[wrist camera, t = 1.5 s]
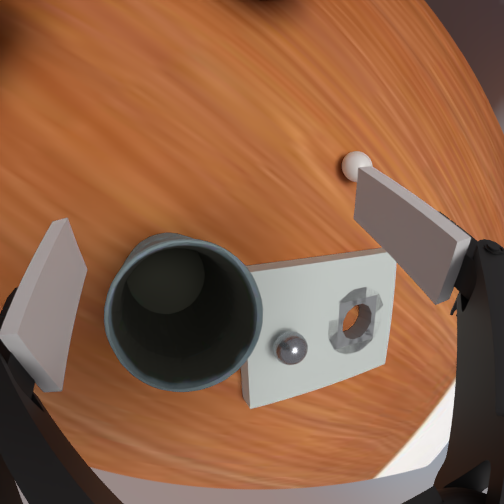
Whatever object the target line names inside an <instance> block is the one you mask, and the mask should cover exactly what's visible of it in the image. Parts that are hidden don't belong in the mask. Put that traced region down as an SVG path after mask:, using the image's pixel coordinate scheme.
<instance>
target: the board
mask: <svg viewBox="0 0 504 504" xmlns="http://www.w3.org/2000/svg"><path fill="white" fill-rule="evenodd" d="M246 267H247V268H248V270H249V271H250V272H251V274H252V275H253V278H254V280H255V282H256V284H257V286H258V289H259V292H260V295H261V299H262V305H263V323H262V329H261V333H260V336H259V339H258V342H257V344H256V346H255V348H254V350H253V352H252V354H251V355H250V356H249V358H248V359H247V361H246V362H245V363H244V364H243V365H242V366H241V378H242V393H243V398H244V400H245V401H246V403H247V405H248V406H249V408H250V409H252V408H256V407H260V406H263V405H267V404H271V403H274V402H278V401H281V400H285V399H288V398H291V397H294V396H298V395H301V394H304V393H307V392H310V391H313V390H316V389H319V388H322V387H325V386H328V385H331V384H334V383H337V382H339V381H342V380H345V379H347V378H350V377H353V376H355V375H358V374H361V373H363V372H366V371H368V370H371V369H373V368H376V367H378V366H380V365H383V364H385V360H386V353H387V347H388V340H389V333H390V325H391V317H392V308H393V299H394V288H395V276H396V261H395V260H394V259H393V258H392V257H391V256H390V255H389V254H388V253H387V252H386V251H385V250H384V249H383V248H377V249H369V250H362V251H355V252H348V253H340V254H333V255H326V256H318V257H311V258H303V259H296V260H288V261H280V262H273V263H265V264H257V265H249V266H246ZM355 305H359V316H358V318H357V320H356V322H355V324H354V325H353V326H352V327H351V328H350V329H349V330H346V331H342V328H343V320H344V318H345V316H346V314H347V312H348V311H349V310H350V309H352V308H353V307H354V306H355ZM288 331H294V332H297V333H299V334H301V335H302V336H303V337H304V338H305V339H306V341H307V344H308V352H307V355H306V357H305V358H304V359H303V360H302V361H301V362H300V363H298V364H295V365H285V364H283V363H281V362H279V361H278V360H277V358H276V357H275V355H274V352H273V345H274V342H275V340H276V339H277V337H278V336H279V335H281V334H282V333H284V332H288Z"/></svg>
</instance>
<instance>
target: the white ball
mask: <svg viewBox="0 0 504 504" xmlns="http://www.w3.org/2000/svg"><path fill="white" fill-rule="evenodd" d="M368 166H372V162H371V160H370V158H369V157H368V156H367V155H366V154H365V153H363V152H359V151H353V152H350V153H348V154H347V155H346V156H345V157H344V159H343V161H342V171H343V173H344V175H345V176H346V177H347V178H348V179H349V180H351V181H353V182H357V177H358V167H368Z"/></svg>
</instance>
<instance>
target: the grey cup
mask: <svg viewBox="0 0 504 504" xmlns="http://www.w3.org/2000/svg"><path fill="white" fill-rule="evenodd" d="M262 323H263V305H262V299H261V295H260V292H259V289H258V286H257V284H256V282H255V280H254V278H253V275H252V274H251V272H250V271H249V270H248V268H247V267H246V266H245V265H244V264H243V263H242V262H241V261H240V260H239V259H238V258H237V257H236V256H234V255H233V254H232V253H230V252H229V251H227V250H226V249H224V248H222V247H221V246H218V245H216V244H213V243H211V242H207V241H203V240H198V239H193V238H190V237H187V236H184V235H180V234H176V233H161V234H156V235H153V236H150V237H148V238H147V239H145V240H143V241H142V242H140V243H139V244H138V245H137V246H136V247H135V248H134V249H133V250H132V252H131V253H130V255H129V256H128V258H127V259H126V261H125V262H124V264H123V266H122V267H121V269H120V271H119V272H118V273H117V275H116V277H115V278H114V280H113V282H112V284H111V286H110V289H109V291H108V294H107V298H106V302H105V307H104V324H105V332H106V335H107V338H108V341H109V343H110V346H111V347H112V349H113V351H114V353H115V354H116V356H117V358H118V359H119V361H120V363H121V364H122V365H123V366H124V367H125V368H126V369H127V370H128V371H129V372H130V373H131V374H132V375H133V376H135V377H136V378H138V379H139V380H141V381H142V382H144V383H146V384H148V385H150V386H152V387H155V388H158V389H162V390H167V391H173V392H189V391H196V390H201V389H205V388H208V387H211V386H213V385H216V384H218V383H220V382H222V381H224V380H226V379H227V378H228V377H230V376H231V375H232V374H233V373H235V372H236V371H237V370H239V369H240V368H241V366H242V365H243V364H244V363H245V362H246V361H247V359H248V358H249V356H250V355H251V354H252V352H253V350H254V348H255V346H256V344H257V342H258V339H259V336H260V333H261V329H262Z"/></svg>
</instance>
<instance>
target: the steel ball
mask: <svg viewBox="0 0 504 504" xmlns="http://www.w3.org/2000/svg"><path fill="white" fill-rule="evenodd" d="M273 352H274V355H275V357H276V358H277V360H278V361H279V362H281V363H283V364H285V365H295V364H298V363H300V362H301V361H302V360H303V359H304V358H305V357H306V355H307V352H308V344H307V341H306V339H305V338H304V337H303V336H302V335H301V334H299V333H297V332H294V331H288V332H284V333H282V334H281V335H279V336H278V337H277V339H276V340H275V342H274V345H273Z"/></svg>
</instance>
